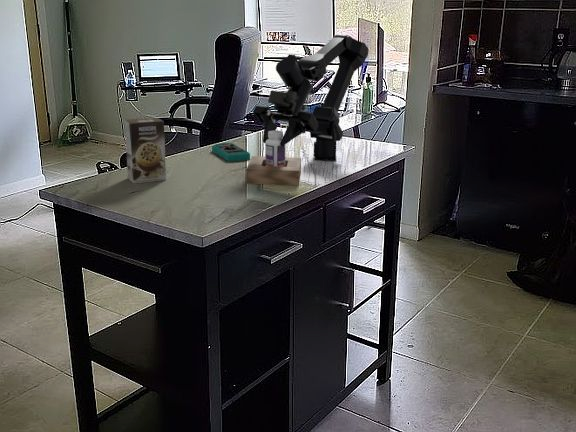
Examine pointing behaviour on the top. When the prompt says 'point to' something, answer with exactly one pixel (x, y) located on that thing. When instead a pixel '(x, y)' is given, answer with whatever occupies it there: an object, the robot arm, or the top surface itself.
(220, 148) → the digital multimeter
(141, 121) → the cookie box
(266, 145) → the pill bottle
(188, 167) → the top surface
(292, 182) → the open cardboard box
